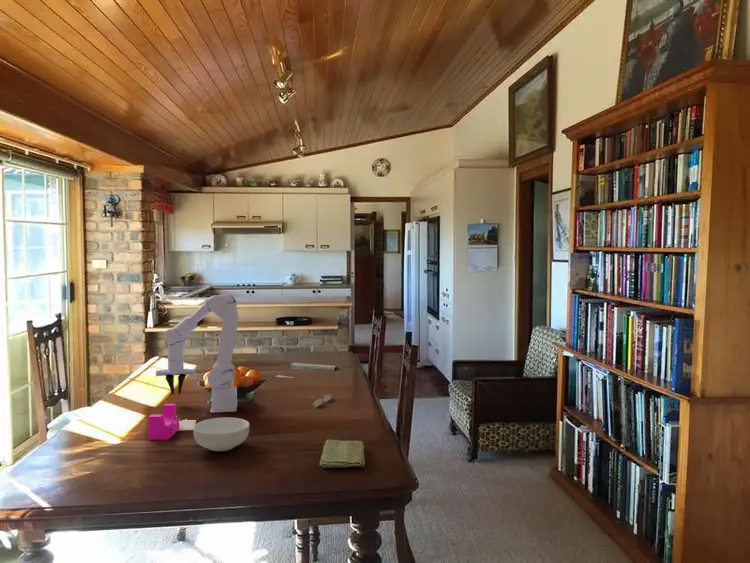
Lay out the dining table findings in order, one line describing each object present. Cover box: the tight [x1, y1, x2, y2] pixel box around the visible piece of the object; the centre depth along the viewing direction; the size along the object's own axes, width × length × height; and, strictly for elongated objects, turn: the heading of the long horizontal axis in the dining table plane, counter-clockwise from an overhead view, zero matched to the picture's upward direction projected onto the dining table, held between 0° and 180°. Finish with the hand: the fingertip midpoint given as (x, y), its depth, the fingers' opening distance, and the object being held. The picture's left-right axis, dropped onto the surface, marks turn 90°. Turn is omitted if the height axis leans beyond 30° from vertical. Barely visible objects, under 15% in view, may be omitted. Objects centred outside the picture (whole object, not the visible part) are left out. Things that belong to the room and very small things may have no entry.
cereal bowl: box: [192, 416, 250, 452], centre depth 175 cm, size 17×17×7 cm
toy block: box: [147, 403, 179, 441], centre depth 189 cm, size 15×6×8 cm, turn 0°
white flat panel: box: [177, 419, 197, 432], centre depth 200 cm, size 14×20×1 cm
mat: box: [275, 362, 338, 379], centre depth 270 cm, size 23×24×5 cm
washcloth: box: [319, 439, 366, 468], centre depth 167 cm, size 13×18×3 cm
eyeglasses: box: [297, 393, 332, 409], centre depth 223 cm, size 14×8×4 cm, turn 155°
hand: (176, 393), depth 221 cm, fingers closed
